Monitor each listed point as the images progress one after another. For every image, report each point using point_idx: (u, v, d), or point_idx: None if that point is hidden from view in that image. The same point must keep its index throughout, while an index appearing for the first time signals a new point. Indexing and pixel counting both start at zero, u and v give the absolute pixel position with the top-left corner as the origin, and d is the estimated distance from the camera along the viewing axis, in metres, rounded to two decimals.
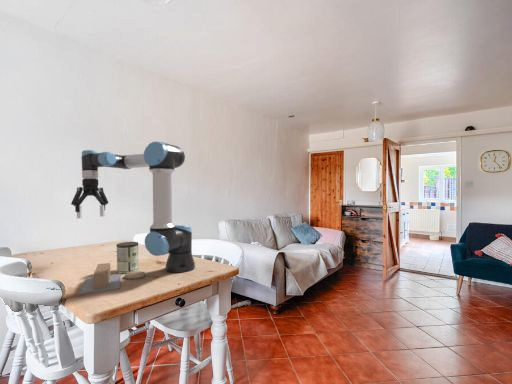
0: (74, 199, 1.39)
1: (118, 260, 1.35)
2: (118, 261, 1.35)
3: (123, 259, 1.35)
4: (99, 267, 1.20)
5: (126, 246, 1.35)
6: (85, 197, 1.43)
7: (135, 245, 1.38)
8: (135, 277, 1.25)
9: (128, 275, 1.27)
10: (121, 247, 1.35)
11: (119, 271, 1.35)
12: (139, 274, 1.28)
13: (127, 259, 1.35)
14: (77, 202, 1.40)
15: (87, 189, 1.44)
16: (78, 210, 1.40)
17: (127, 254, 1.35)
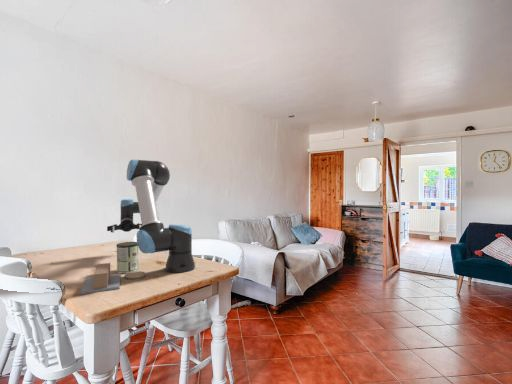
0: None
1: (118, 260, 1.35)
2: (118, 261, 1.35)
3: (123, 259, 1.35)
4: (99, 267, 1.20)
5: (126, 246, 1.35)
6: (119, 225, 1.56)
7: (135, 245, 1.38)
8: (135, 277, 1.25)
9: (128, 275, 1.27)
10: (121, 247, 1.35)
11: (119, 271, 1.35)
12: (139, 274, 1.28)
13: (127, 259, 1.35)
14: None
15: None
16: (111, 228, 1.48)
17: (127, 254, 1.35)
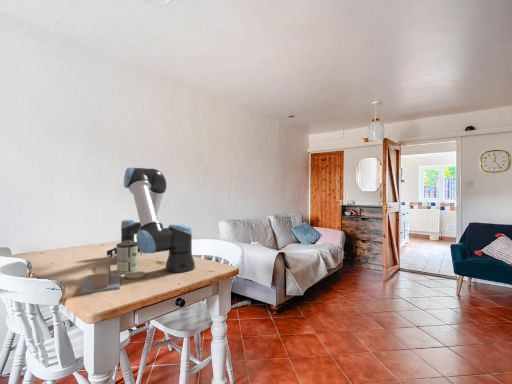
0: None
1: (118, 260, 1.35)
2: (118, 261, 1.35)
3: (123, 259, 1.35)
4: (99, 267, 1.20)
5: (126, 246, 1.35)
6: None
7: (135, 245, 1.38)
8: (135, 277, 1.25)
9: (128, 275, 1.27)
10: (121, 247, 1.35)
11: (119, 271, 1.35)
12: (139, 274, 1.28)
13: (127, 259, 1.35)
14: (112, 252, 1.49)
15: None
16: (111, 252, 1.45)
17: (127, 254, 1.35)
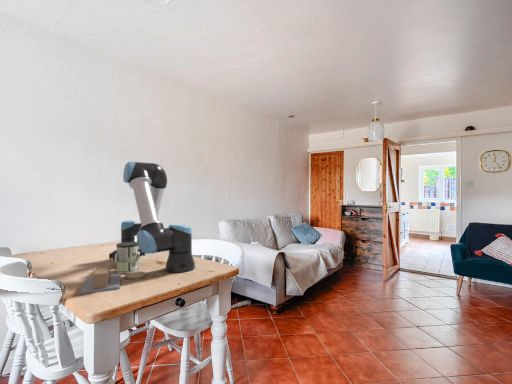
0: None
1: (118, 260, 1.35)
2: (118, 261, 1.35)
3: (122, 259, 1.34)
4: (99, 267, 1.20)
5: (126, 246, 1.35)
6: None
7: (135, 245, 1.38)
8: (135, 277, 1.25)
9: (128, 275, 1.27)
10: (121, 247, 1.35)
11: (119, 271, 1.35)
12: (139, 274, 1.28)
13: (127, 259, 1.35)
14: None
15: None
16: (114, 255, 1.37)
17: (127, 254, 1.35)
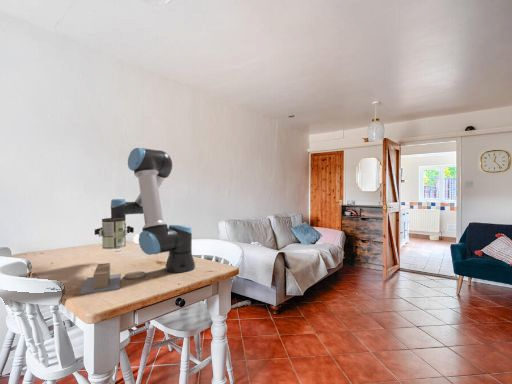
0: None
1: (103, 235, 1.27)
2: (103, 236, 1.27)
3: (108, 234, 1.26)
4: (99, 267, 1.20)
5: (111, 220, 1.26)
6: None
7: (122, 220, 1.29)
8: (135, 277, 1.25)
9: (128, 275, 1.27)
10: (106, 221, 1.26)
11: (104, 247, 1.26)
12: (139, 274, 1.28)
13: (112, 235, 1.26)
14: None
15: None
16: (99, 231, 1.28)
17: (113, 229, 1.26)
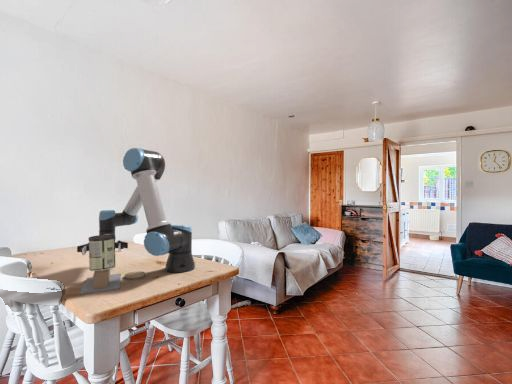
0: None
1: (90, 256, 1.15)
2: (90, 257, 1.15)
3: (95, 254, 1.14)
4: None
5: (99, 239, 1.14)
6: None
7: (111, 238, 1.17)
8: (135, 277, 1.25)
9: (128, 275, 1.27)
10: (93, 240, 1.14)
11: (91, 269, 1.14)
12: (139, 274, 1.28)
13: (100, 255, 1.14)
14: None
15: None
16: (82, 248, 1.16)
17: (101, 249, 1.14)
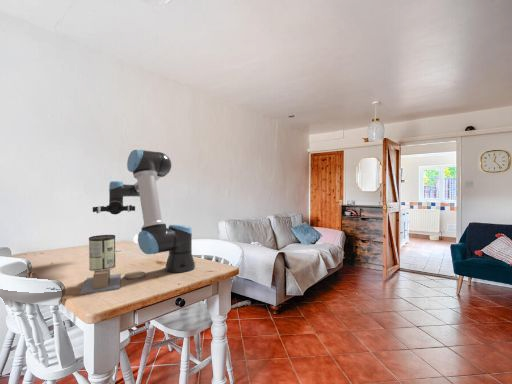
0: None
1: (90, 256, 1.15)
2: (90, 257, 1.15)
3: (95, 254, 1.14)
4: None
5: (100, 239, 1.14)
6: (106, 206, 1.45)
7: (111, 238, 1.17)
8: (135, 277, 1.25)
9: (128, 275, 1.27)
10: (94, 240, 1.14)
11: (91, 269, 1.14)
12: (139, 274, 1.28)
13: (101, 255, 1.14)
14: None
15: None
16: (97, 208, 1.38)
17: (101, 249, 1.14)
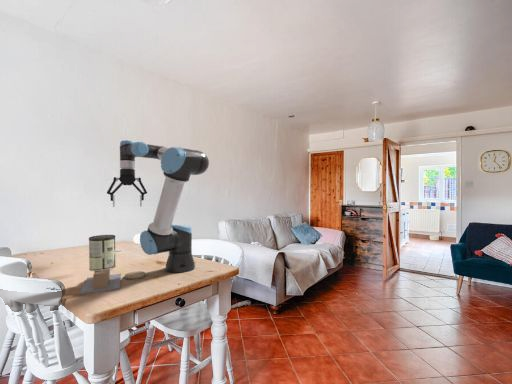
0: None
1: (90, 256, 1.15)
2: (90, 257, 1.15)
3: (95, 254, 1.14)
4: None
5: (100, 239, 1.14)
6: (119, 187, 1.47)
7: (111, 238, 1.17)
8: (135, 277, 1.25)
9: (128, 275, 1.27)
10: (94, 240, 1.14)
11: (91, 269, 1.14)
12: (139, 274, 1.28)
13: (101, 255, 1.14)
14: None
15: (122, 179, 1.48)
16: (111, 199, 1.46)
17: (101, 249, 1.14)
